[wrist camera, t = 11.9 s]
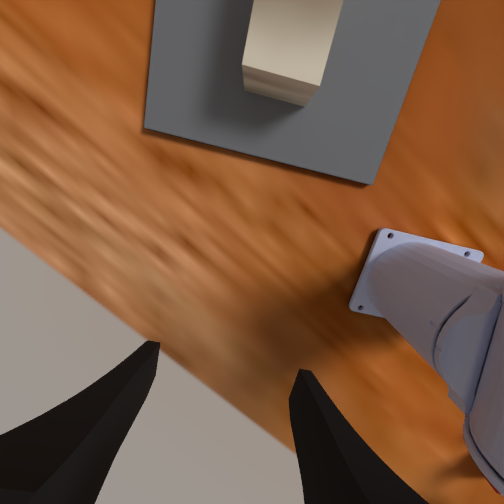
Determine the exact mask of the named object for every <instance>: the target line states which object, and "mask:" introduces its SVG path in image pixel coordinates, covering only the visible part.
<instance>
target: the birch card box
mask: <svg viewBox="0 0 504 504" xmlns="http://www.w3.org/2000/svg"><path fill="white" fill-rule="evenodd" d="M342 4H343V0H254V3H253V8H252V13H251V18H250V24H249V29H248V34H247V40H246V45H245V50H244V56H243V61H242V71H243V81H244V91H248V92H252V93H256V94H259V95H263V96H267V97H270V98H274V99H278V100H282V101H285V102H289V103H293V104H296V105H300V106H304V107H305V106H306V105H307V103H308V102H309V101H310V99H311V98H312V96H313V95H314V94H315V92H316V91H317V89H318V88H319V87H320V84H321V80H322V76H323V73H324V69H325V65H326V62H327V58H328V55H329V51H330V47H331V44H332V40H333V36H334V33H335V29H336V26H337V22H338V18H339V15H340V11H341V7H342Z"/></svg>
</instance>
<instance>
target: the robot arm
mask: <svg viewBox="0 0 504 504" xmlns="http://www.w3.org/2000/svg"><path fill="white" fill-rule="evenodd" d="M389 233H391V236H390V237H389V238H388V237H387V236H388V234H389ZM465 252H466V254H465V255H464V253H465ZM483 256H484V255H483V252H481V251H478V250H474V249H470V248H466V247H462V246H458V245H454V244H450V243H445V242H441V241H437V240H433V239H429V238H425V237H421V236H416V235H412V234H408V233H404V232H400V231H396V230H392V229H388V228H381V229H379V230H378V232H377V234H376V237H375V239H374V242H373V244H372V247H371V249H370V252H369V255H368V257H367V260H366V262H365V265H364V267H363V270H362V272H361V275H360V277H359V280H358V282H357V285H356V287H355V290H354V292H353V295H352V297H351V300H350V302H349V308H350V309H351V310H352V311H354V312H359V313H364V314H368V315H373V316H377V317H382V318H385V319H386V320H387V321H388V322H389V323H390V324H391V325H392V326H393V327H394V328H395V329H396V330H397V331H398V332H399V333H400V334H401V335H402V337H403V338H404V339H405V340H406V341H407V342H408V343H409V344H410V345H411V346H412V347H413V348H414V349H415V350H416V351H417V352H418V353H419V354H420V355H421V356H422V358H423V359H424V360H425V361H426V362H427V363H428V364H429V365H430V366H431V367H432V368H433V369H434V370H435V371H436V372H437V373H438V374H439V375H440V376H441V377H442V378H443V380H444V381H445V382H446V383H447V385H448V389H449V393H448V396H449V397H450V399H451V400H452V401H453V402H454V403H455V404H456V405H457V406H458V407H459V409H460V410H461V411H462V412H463V413H464V414H465V415H466V416H465V419H464V423H463V436H464V440H465V443H466V446H467V449H468V451H469V453H470V455H471V457H472V458H473V460H474V461H475V463H476V464H477V466H478V467H479V469H480V470H481V472H482V473H483V474H484V475H485V477H486V478H487V479H488V480H489V482H490V483H491V484H492V485H493V486H494V487H495V488H496V489H497V490H498V491H499V492H500V493H501V494H502V495H503V497H504V272H503V271H501V270H498V269H495V268H493V267H490V266H487V265H484V264H482V263H480V262H481V260H482V259H483ZM360 305H362V307H361V308H358V307H359V306H360ZM159 349H160V343H159V342H154V341H149V340H148V341H146V342H145V343H144V344H143V345H142V346H140V347H139V348H138V349H137V350H136V351H135V352H133V353H132V354H131V355H130V356H129V357H127V358H126V359H125V360H124V361H122V362H121V363H120V364H119V365H117V366H116V367H115V368H114V369H113V370H111V371H110V372H108V373H107V374H106V375H104V376H103V377H101V378H100V379H99V380H97V381H96V382H95V383H93V384H92V385H90V386H89V387H87V388H86V389H84V390H83V391H81V392H80V393H78V394H77V395H75V396H73V397H72V398H70V399H68V400H67V401H65V402H63V403H61V404H60V405H58V406H56V407H54V408H53V409H51V410H49V411H47V412H46V413H44V414H42V415H40V416H38V417H36V418H34V419H32V420H30V421H28V422H26V423H24V424H22V425H20V426H18V427H16V428H14V429H13V430H10V431H8V432H6V433H4V434H2V435H0V504H95V502H96V499H97V497H98V495H99V492H100V490H101V487H102V485H103V483H104V481H105V478H106V476H107V474H108V471H109V469H110V467H111V465H112V462H113V460H114V458H115V456H116V454H117V452H118V450H119V448H120V446H121V444H122V442H123V441H124V439H125V437H126V435H127V433H128V431H129V429H130V427H131V426H132V424H133V422H134V420H135V418H136V416H137V414H138V412H139V410H140V409H141V407H142V405H143V403H144V401H145V399H146V397H147V395H148V393H149V390H150V388H151V385H152V383H153V380H154V378H155V376H156V369H157V362H158V355H159ZM289 410H290V421H291V427H292V432H293V437H294V443H295V448H296V453H297V458H298V463H299V468H300V474H301V480H302V486H303V494H304V503H305V504H429V503H428V502H427V501H425V500H424V499H423V498H422V497H421V496H420V495H419V494H417V493H416V492H415V491H414V490H413V489H412V488H411V487H409V486H408V485H407V484H406V483H405V482H404V481H403V480H402V479H401V478H400V477H399V476H398V475H397V474H395V473H394V472H393V471H392V470H391V469H390V468H389V467H388V466H387V465H386V464H385V463H384V462H383V461H382V460H381V459H380V458H379V457H378V456H377V455H376V453H375V452H374V451H373V450H372V449H371V448H370V447H369V446H368V445H367V444H366V443H365V441H364V440H363V439H362V438H361V437H360V436H359V435H358V433H357V432H356V431H355V430H354V429H353V427H352V426H351V425H350V424H349V422H348V421H347V420H346V419H345V418H344V416H343V415H342V414H341V412H340V411H339V410H338V408H337V407H336V406H335V404H334V403H333V402H332V400H331V399H330V397H329V396H328V395H327V393H326V392H325V390H324V389H323V387H322V386H321V385H320V383H319V382H318V380H317V379H316V377H315V376H314V374H313V373H312V372H311V371H309V370H304V369H299V372H298V374H297V377H296V380H295V383H294V386H293V388H292V391H291V394H290V397H289Z"/></svg>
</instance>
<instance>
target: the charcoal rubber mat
mask: <svg viewBox="0 0 504 504" xmlns="http://www.w3.org/2000/svg"><path fill="white" fill-rule="evenodd" d="M253 3H254V0H156V4H155V14H154V25H153V36H152V47H151V58H150V68H149V79H148V90H147V101H146V111H145V122H144V128H146V129H149V130H153V131H157V132H161V133H165V134H169V135H173V136H177V137H181V138H185V139H189V140H193V141H197V142H201V143H205V144H209V145H213V146H217V147H221V148H225V149H229V150H233V151H236V152H240V153H244V154H248V155H252V156H256V157H260V158H264V159H268V160H272V161H276V162H280V163H284V164H288V165H292V166H296V167H300V168H304V169H308V170H312V171H316V172H320V173H324V174H328V175H332V176H336V177H340V178H343V179H347V180H351V181H355V182H359V183H363V184H367V185H373V182H374V180H375V177H376V174H377V171H378V169H379V166H380V163H381V161H382V158H383V155H384V152H385V150H386V147H387V144H388V142H389V139H390V136H391V133H392V131H393V128H394V125H395V123H396V120H397V117H398V114H399V112H400V109H401V106H402V104H403V101H404V98H405V95H406V93H407V90H408V87H409V85H410V82H411V79H412V76H413V74H414V71H415V68H416V66H417V63H418V60H419V57H420V55H421V52H422V49H423V47H424V44H425V41H426V38H427V36H428V33H429V30H430V28H431V25H432V22H433V19H434V17H435V14H436V11H437V9H438V6H439V3H440V0H343V4H342V7H341V11H340V15H339V18H338V22H337V26H336V29H335V33H334V36H333V40H332V44H331V47H330V51H329V55H328V58H327V62H326V65H325V69H324V73H323V76H322V80H321V84H320V87H319V88H318V89H317V91H316V92H315V94H314V95H313V96H312V98H311V99H310V101H309V102H308V103H307V105H306V106H305V107H304V106H300V105H296V104H293V103H289V102H285V101H282V100H278V99H274V98H270V97H267V96H263V95H259V94H256V93H252V92H248V91H244V81H243V71H242V61H243V56H244V50H245V45H246V40H247V34H248V29H249V24H250V18H251V13H252V8H253Z"/></svg>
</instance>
